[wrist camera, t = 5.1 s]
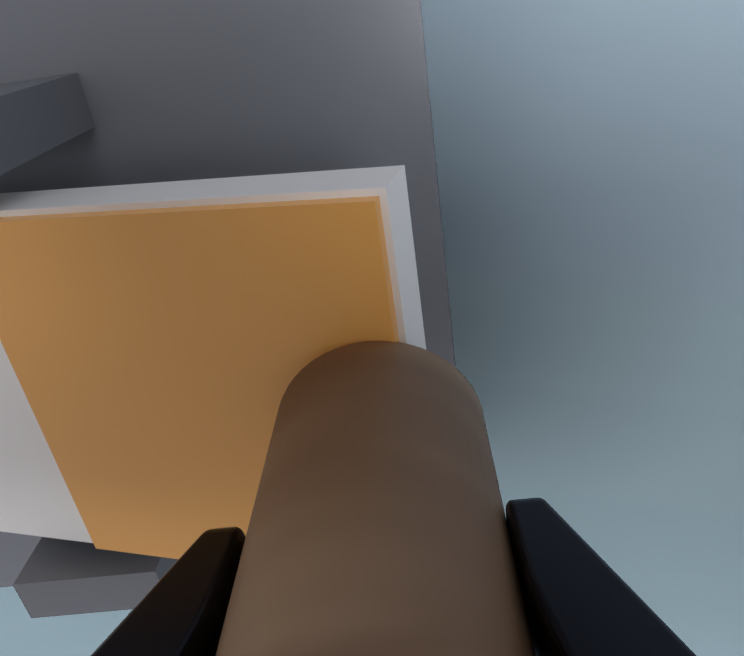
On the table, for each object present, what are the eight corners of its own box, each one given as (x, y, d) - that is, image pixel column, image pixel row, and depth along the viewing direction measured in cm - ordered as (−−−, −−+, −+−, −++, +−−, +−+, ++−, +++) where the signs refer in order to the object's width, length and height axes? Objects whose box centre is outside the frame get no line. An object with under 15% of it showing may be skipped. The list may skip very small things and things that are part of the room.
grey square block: (396, -145, 14) (411, -263, 7) (457, 450, 21) (492, 673, 15) (-290, -26, 15) (-841, -30, 8) (-10, 498, 23) (-182, 726, 16)
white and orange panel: (404, 165, 9) (381, 192, 8) (449, 543, 12) (436, 597, 11) (-311, 214, 13) (-382, 236, 12) (-140, 480, 17) (-186, 514, 16)
